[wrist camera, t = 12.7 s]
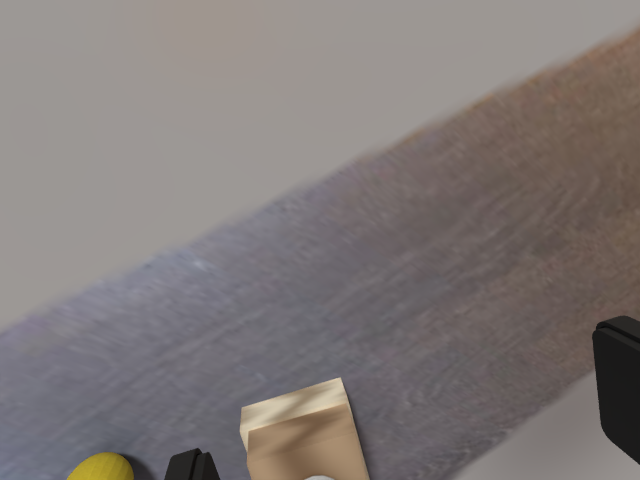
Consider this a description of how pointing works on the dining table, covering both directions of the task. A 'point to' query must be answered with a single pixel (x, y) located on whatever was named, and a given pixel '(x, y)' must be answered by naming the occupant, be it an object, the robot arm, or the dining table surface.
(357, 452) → the tan top block
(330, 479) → the rook chess piece
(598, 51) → the dining table surface
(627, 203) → the dining table surface
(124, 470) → the lemon
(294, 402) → the beech base block
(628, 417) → the robot arm
